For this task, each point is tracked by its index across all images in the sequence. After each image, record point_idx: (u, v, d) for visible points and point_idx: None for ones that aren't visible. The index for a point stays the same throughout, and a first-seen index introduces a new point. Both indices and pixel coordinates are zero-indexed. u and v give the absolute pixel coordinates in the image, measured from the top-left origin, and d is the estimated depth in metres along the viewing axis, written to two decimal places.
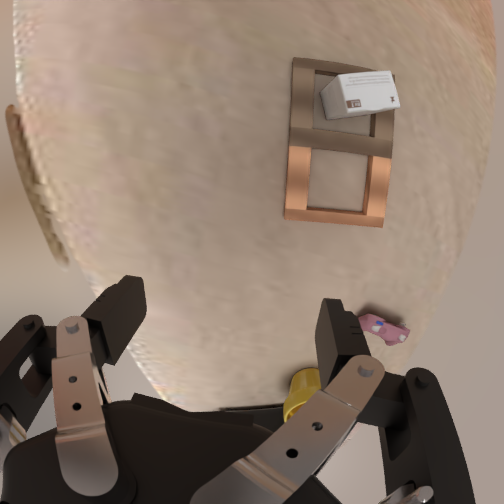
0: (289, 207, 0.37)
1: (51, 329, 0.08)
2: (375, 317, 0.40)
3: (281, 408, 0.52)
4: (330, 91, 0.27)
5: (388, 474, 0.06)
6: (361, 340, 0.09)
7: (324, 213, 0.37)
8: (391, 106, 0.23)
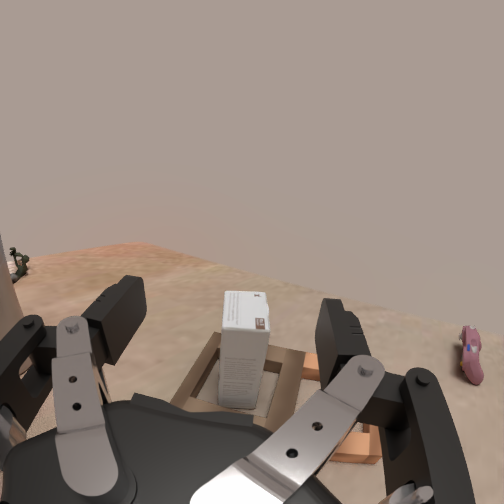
0: (367, 450, 0.20)
1: (51, 329, 0.08)
2: (464, 353, 0.29)
3: None
4: (230, 368, 0.25)
5: (388, 474, 0.06)
6: (361, 340, 0.09)
7: None
8: (264, 298, 0.27)
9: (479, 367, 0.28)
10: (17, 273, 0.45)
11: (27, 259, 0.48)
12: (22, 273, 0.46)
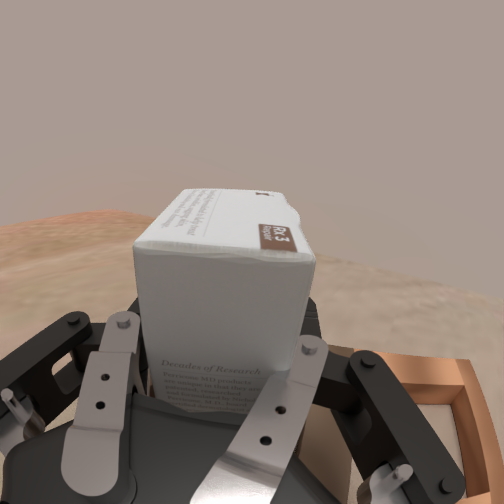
0: None
1: (97, 326, 0.09)
2: None
3: None
4: (183, 395, 0.08)
5: (358, 458, 0.06)
6: (314, 323, 0.10)
7: (487, 456, 0.08)
8: (283, 199, 0.10)
9: None
10: None
11: None
12: None
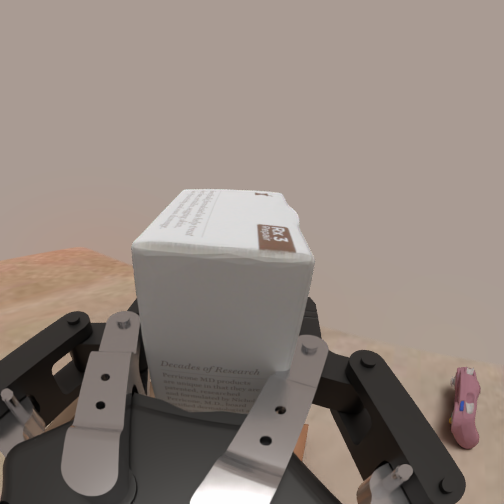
0: None
1: (97, 326, 0.09)
2: (455, 415, 0.19)
3: None
4: (183, 395, 0.08)
5: (358, 458, 0.06)
6: (314, 323, 0.10)
7: None
8: (282, 199, 0.10)
9: (474, 431, 0.17)
10: None
11: None
12: None
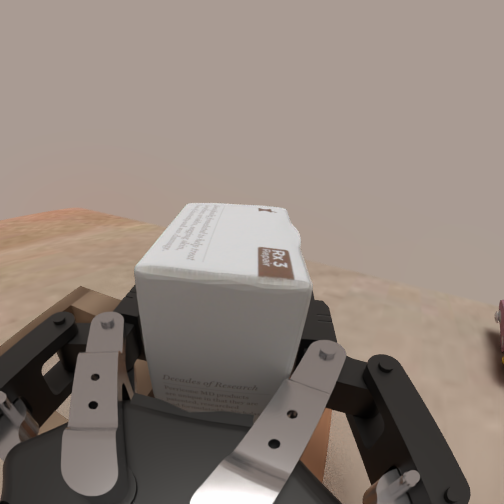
0: None
1: (83, 326, 0.09)
2: None
3: None
4: (184, 406, 0.08)
5: (368, 462, 0.06)
6: (329, 327, 0.10)
7: None
8: (285, 216, 0.10)
9: None
10: None
11: None
12: None
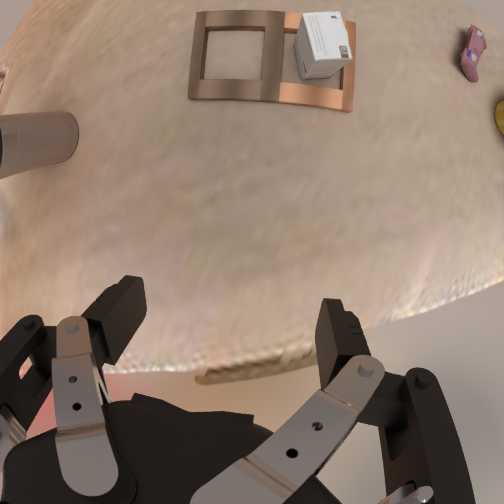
0: (340, 105, 0.33)
1: (51, 329, 0.08)
2: (464, 56, 0.24)
3: None
4: (316, 69, 0.27)
5: (388, 474, 0.06)
6: (361, 340, 0.09)
7: (345, 73, 0.31)
8: (341, 19, 0.20)
9: (475, 73, 0.26)
10: None
11: None
12: None
